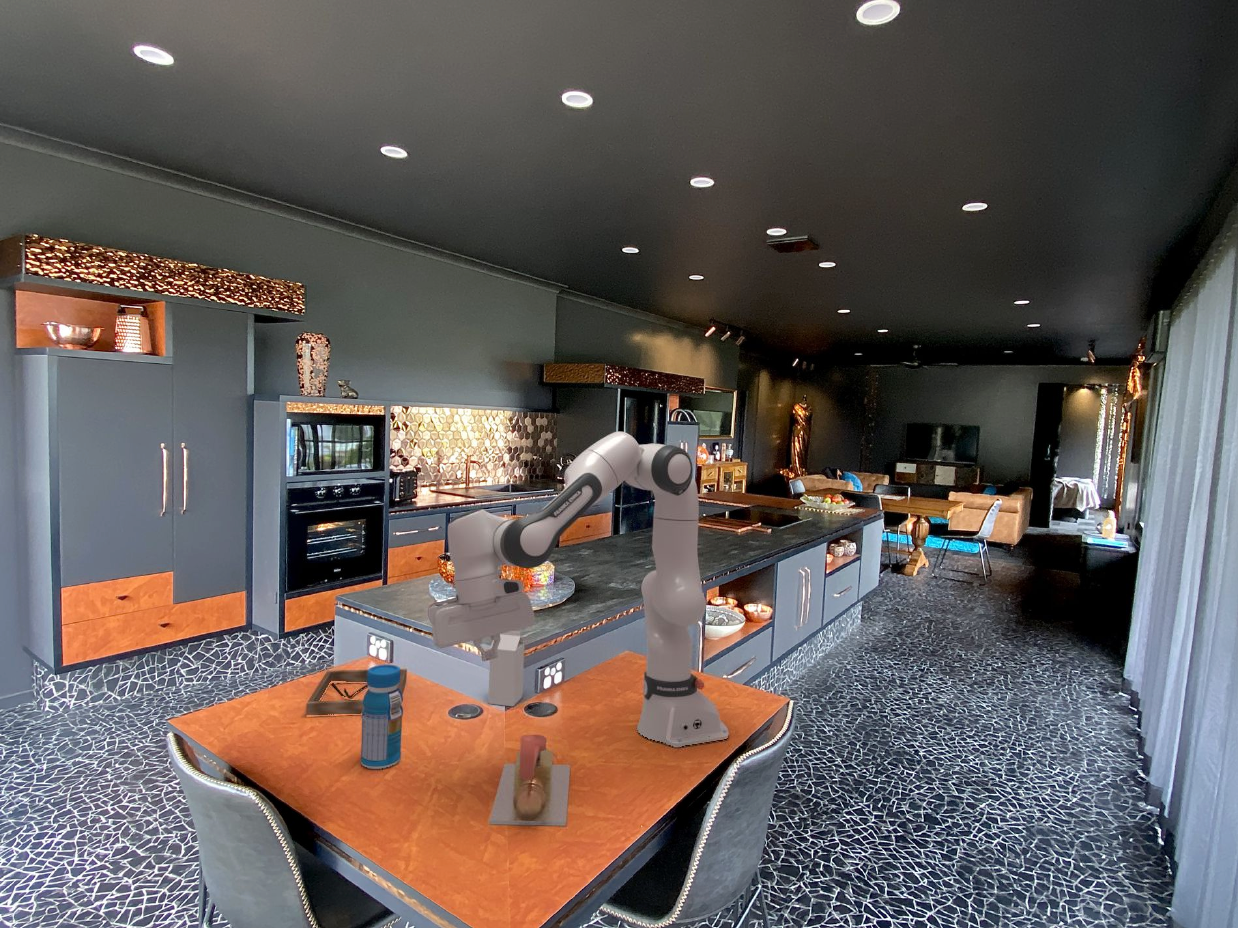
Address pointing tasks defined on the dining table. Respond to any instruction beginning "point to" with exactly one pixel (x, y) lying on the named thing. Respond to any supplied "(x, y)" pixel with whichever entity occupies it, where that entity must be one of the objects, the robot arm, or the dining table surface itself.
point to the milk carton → (507, 670)
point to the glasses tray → (345, 705)
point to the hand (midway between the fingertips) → (490, 659)
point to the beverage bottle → (382, 718)
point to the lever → (530, 754)
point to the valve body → (532, 794)
